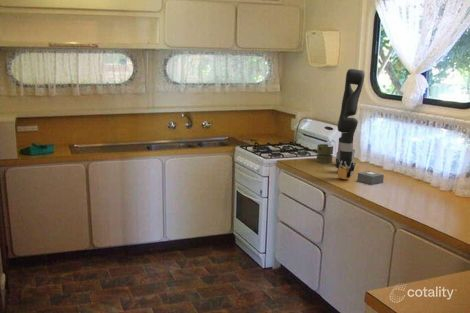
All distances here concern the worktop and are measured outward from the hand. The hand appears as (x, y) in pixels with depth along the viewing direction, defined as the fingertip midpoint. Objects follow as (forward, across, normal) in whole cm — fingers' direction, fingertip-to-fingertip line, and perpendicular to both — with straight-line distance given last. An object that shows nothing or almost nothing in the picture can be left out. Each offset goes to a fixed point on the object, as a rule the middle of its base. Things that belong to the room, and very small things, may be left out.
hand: (344, 176), depth 301 cm
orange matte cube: (+1, 0, 0) cm, 1 cm away
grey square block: (+2, -12, -10) cm, 16 cm away
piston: (+3, +44, -30) cm, 53 cm away
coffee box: (+2, +11, -14) cm, 18 cm away
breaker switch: (-1, -12, -10) cm, 16 cm away
